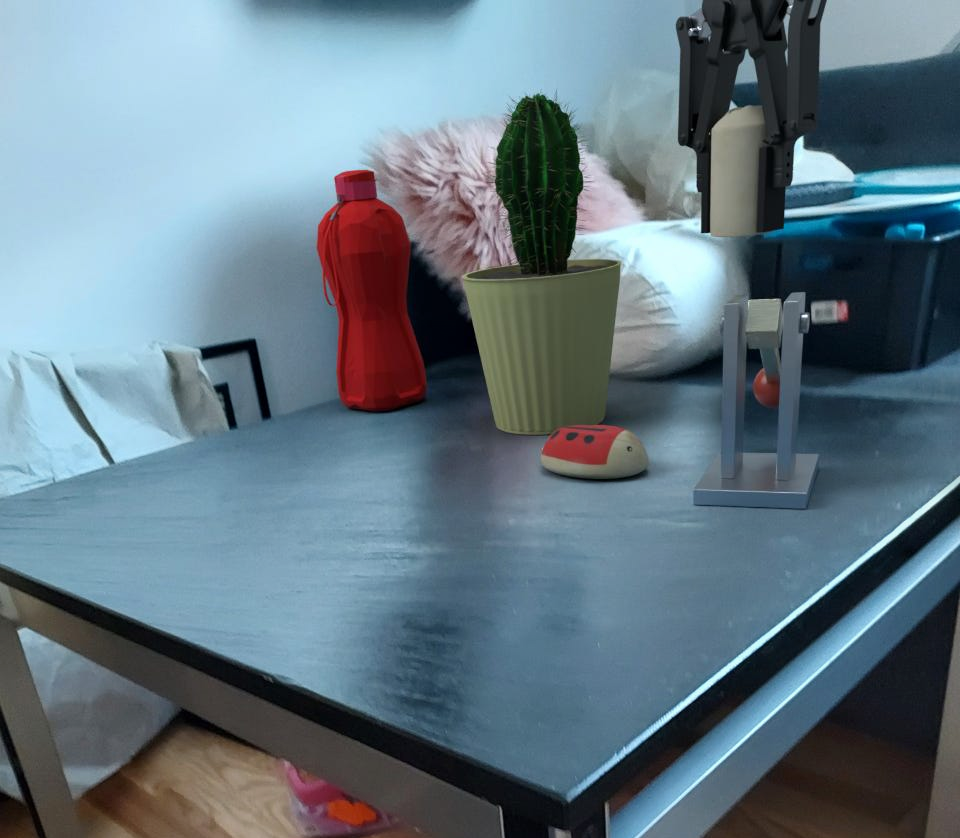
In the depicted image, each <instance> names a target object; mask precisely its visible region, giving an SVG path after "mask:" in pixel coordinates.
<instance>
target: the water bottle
mask: <svg viewBox="0 0 960 838" xmlns="http://www.w3.org/2000/svg"><path fill="white" fill-rule="evenodd" d="M375 177H376V176H375V171H373V170H370V169H355V170H345V171H341V172H340V173H338V174H337V175H335V176H334V177H333V178H334V179H333V180H334V188H335V193H336V195H335V196H336V201H337V203H336V204H334V205H333V206H332V207H331V208H330V209H328V211H327V212H326V213H324V215H323V217H322V218H321V220H320V221H319V223H318V225H317V238H316V251H317V254H318V258H319V262H320V266H321V268H322V270H321V271H322V286H323V292H324V297H325V300H326V302H327V304H328V305H329V306H332V307H336V313H337V318H338V332H337V333H338V334H337V352H336V353H337V354H336V371H335V372H336V382H337V392H338V396H339V399H340V401H341V404H342V405H343V406H345V407H346V408H348V409H353V410H362V411H363V410H364V411H368V412H369V411H370V412H375V413H376V412H387V411H388V412H389V411H392V410H395V409H399V408H401V407H404V406H408V405H411V404H415V403H418V402H420V401H422V399H424V398H425V396H426V393H427V387H428V382H427V376H426V370H425V369H426V368H425V363H424V360H423V357H422V353H421V351H420V348H419V344H418V341H417V339H416V335H415V333H414V329H413V326H412V323H411V320H410V317H409V314H408V303H407V302H408V301H407V292H408V283H409V282H408V280H409V270H410V261H411V260H410V259H411V248H412V247H411V246H412V245H411V241H410V238H409V234H408V231H407V228H406V225H405V221H404V218H403V216H402V215H401V214H400V213H399V212H398V211H397V210H396V209H395V208H394V207H393V206H392V205H389V204H388V203H386V202H384V201H383V200H381V199H379V198H378V191H377V183H376V182H377V181H378V180H377V179H376V178H375ZM327 284H328V286H329V290H330V292H331V294H332V298H333V300H334V304H333V303H331V302H330V301H331V300H330V298H329V296H328V291H327Z"/></svg>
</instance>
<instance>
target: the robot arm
mask: <svg viewBox="0 0 960 838" xmlns="http://www.w3.org/2000/svg"><path fill="white" fill-rule="evenodd" d="M827 1H828V0H702V1H701V7H700V8H699V9H697V10H696V11H695V12H693V13H692V14H691V15H689V16H680V17H678V18H677V19H676V22H675V32H676V36H677V40H678V45H679V77H678V79H679V81H678V113H677V114H678V117H677V143H678V146H680V147H687V148H689V149H692V150H693V151H694V152H695V156H696V172H695V173H696V177H695V178H696V180H695V181H696V183H695V184H696V185H695V187H696V190H697V193H701V194H700V195H701V196H700V234H711V233H710V204H711V137H712V128H713V127H714V126H715V124H716V123H717V122H718V121H719V120H720V119H722V118H723V117H724V116H725V115H726V114H727V112H728V111H729V110H730V107H731V103H732V98H733V93H734V90H735V86H736V85H735V84H736V79H737V76H738V70H739V66H740V65H741V64H742V63H743V61H744V59H745V57H746V51H747V52H748V55H749V57H750V58H751V59H752V60H753V64H754V69H755V74H756V81H757V86H758V91H759V97H760V103H761V105H762V109H763V115H764V121H765V126H766V132H767V138H766V139H765V140H762V142H763V144H764V145H766V146H770V145H772V146H771V147H761V148H759V172H758V201H757V231H756V232H768V231H772V232H774V231H780V230H784V229H785V212H786V211H785V209H786V188H788V187H791V186H792V182H793V180H794V162H795V146H796V143H797V141H798V140H799V139H800V138H803V136H805V135H807V134H811V133H813V132H815V131H816V130H817V128H818V124H819V93H820V91H819V90H820V60H821V59H820V55H821V23H822V20H823V16H824V12H825V8H826V5H827ZM787 15H788V16H789V20H788V25H787V33H786V28H785V21H784V20H785V18H786V16H787ZM786 51H787V56H786Z"/></svg>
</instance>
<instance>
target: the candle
mask: <svg viewBox="0 0 960 838" xmlns="http://www.w3.org/2000/svg"><path fill="white" fill-rule="evenodd" d="M766 138H767V132H766V126H765V121H764V115H763V109H762V104H761V105H751V104H750V105H745V106H744V107H742V106H737V107H733V108H731V109H729V111H728V112H727V114H726V115H725V116H724V117H723V118H722V119H720V120H719V121H718V122H717V123H716V124H715V126H714V127H713V128H712V137H711V204H710V233H709V234H710V237H714V238H736V237H746V236H747V237H749V236H757V235H765V234H770V233H772V232H773V231H768V232H756V231H757V201H758V172H759V148H761V147H771V146H772V145H770V146H766V145H764V144H763V142H762V140H765V139H766Z"/></svg>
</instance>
